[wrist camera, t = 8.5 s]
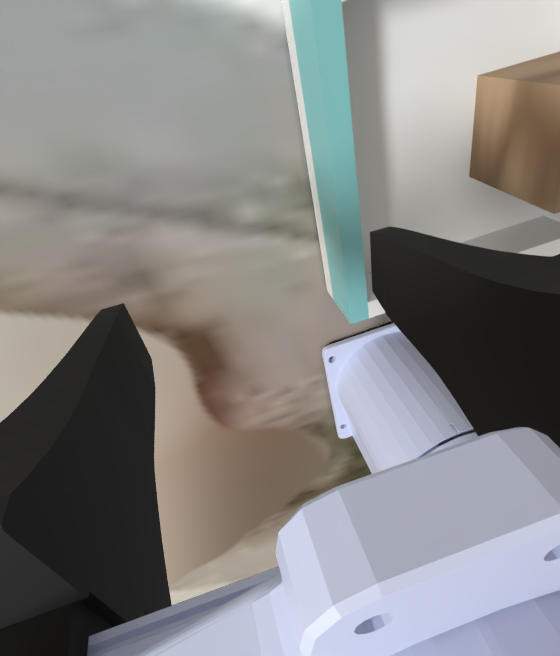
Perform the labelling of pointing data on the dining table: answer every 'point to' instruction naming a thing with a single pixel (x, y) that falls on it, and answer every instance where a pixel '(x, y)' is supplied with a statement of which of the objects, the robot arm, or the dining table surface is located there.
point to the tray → (407, 126)
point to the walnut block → (519, 131)
